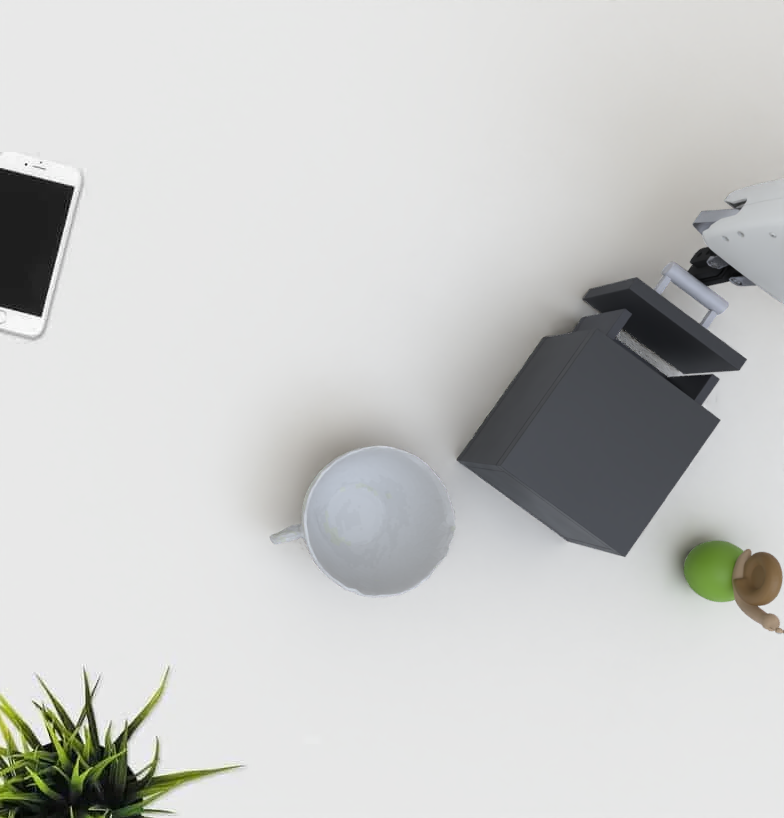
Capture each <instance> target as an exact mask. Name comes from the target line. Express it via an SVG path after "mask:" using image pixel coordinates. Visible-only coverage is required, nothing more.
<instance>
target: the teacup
mask: <svg viewBox="0 0 784 818" xmlns="http://www.w3.org/2000/svg"><path fill="white" fill-rule="evenodd" d="M300 518H301V520H300V521H301V523H298V524H292V525H289V526H287V527H286V528H284V529H282V530H280V531H278V532H275V533H273V534H270V535H269V540H270V541H271V543H272V544H274V545H280V544H284V543H285V544H286V543H290V542H292V541H295V540H298V539H303V541H304V543H305V545H306V548H307V551H308V553H309V556H310V557H311V559H312V560H313V562H314V564H315V565H316V566H317V567H318V569H319V570H320V571H321V572H322V573H323V574H324V575H325V577H327V578H328V579H329V580H331V581H332V582H333V583H335V584H336V585H338V586H339V587H341V589H343V590H345V591H348V592H350V593H354V594H355V595H357V596H360V597H363V598H375V599H376V598H389V597H397V596H400V595H402V594H406V593H408V592H410V591H412V590H414V589H416V588H418V586H420V585H421V584H422V583H425V581H427V580H429V579H430V578H431V576H432V575H433V573H434V572H435V571H436V569H437V568H438V566H439V565H440V564H441V563H442V562H443V560H444V559H445V558H446V557H447V556H448V554H449V550H450V546H451V543H452V541H453V539H454V536H455V535H454V534H455V531H456V528H457V527H456V515H455V510H454V506H453V504H452V499H451V496H450V494H449V491H448V489H447V487H446V485H445V484H444V482H443V481H442V479H441V478H440V476H439V475H438V474H437V473H436V472H435V471H434V470H433V469H432V468H431V466H430V465H429V464H428V463H427V462H425V461H424V460H423V459H422V458H420V457H419V456H418V455H416V454H414V453H413V452H410V451H408V450H404V449H402V448H398V447H393V446H389V445H370V446H364V447H359V448H354V449H352V450H349V451H347V452H345V453H343V454H340V455H338V456H336V457H335V458H334V459H333V460H331V461H329V462H328V463H327V464H325V466H324V467H322V469H321V470H320V471H319V472H318V473H317V474H316V475H315V476H314V478H313V479H312V481H311V483H310V485H309V487H308V489H307V491H306V493H305V496H304V499H303V502H302V507H301V517H300Z"/></svg>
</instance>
